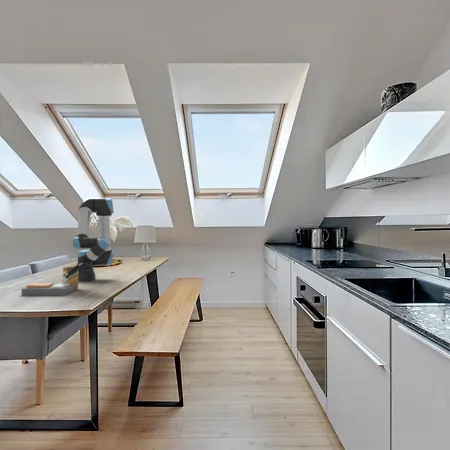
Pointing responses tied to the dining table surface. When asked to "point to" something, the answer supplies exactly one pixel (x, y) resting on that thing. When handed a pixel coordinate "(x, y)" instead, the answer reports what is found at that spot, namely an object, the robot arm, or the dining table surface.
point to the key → (40, 285)
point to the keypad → (49, 290)
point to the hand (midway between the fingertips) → (66, 279)
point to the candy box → (74, 278)
